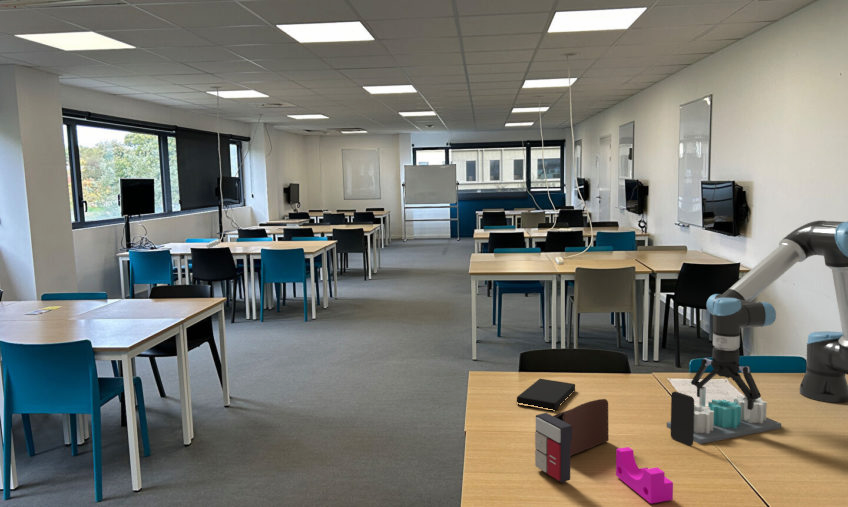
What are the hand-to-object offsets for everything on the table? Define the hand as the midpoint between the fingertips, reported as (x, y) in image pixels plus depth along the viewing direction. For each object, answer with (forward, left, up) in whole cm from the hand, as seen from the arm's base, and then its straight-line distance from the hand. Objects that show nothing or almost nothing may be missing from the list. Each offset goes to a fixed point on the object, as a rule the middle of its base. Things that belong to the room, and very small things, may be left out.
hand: (723, 413), depth 188 cm
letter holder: (+50, -7, -5) cm, 51 cm away
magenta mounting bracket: (+48, +22, -5) cm, 53 cm away
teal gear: (0, 0, -3) cm, 3 cm away
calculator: (+66, +7, -5) cm, 67 cm away
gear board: (0, 0, -5) cm, 5 cm away
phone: (+20, +4, -5) cm, 21 cm away
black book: (+37, -46, -5) cm, 59 cm away
